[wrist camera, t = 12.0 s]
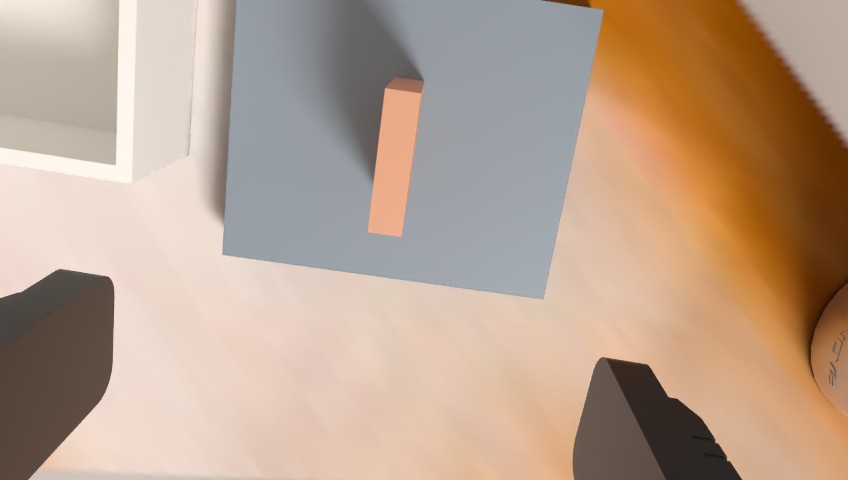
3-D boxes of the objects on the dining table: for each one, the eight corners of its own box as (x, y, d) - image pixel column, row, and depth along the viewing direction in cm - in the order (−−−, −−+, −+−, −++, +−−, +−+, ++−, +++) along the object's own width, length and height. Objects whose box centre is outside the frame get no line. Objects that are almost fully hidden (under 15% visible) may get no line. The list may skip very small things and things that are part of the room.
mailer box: (202, -111, 28) (140, -147, 22) (188, 155, 31) (131, 184, 25) (-121, -165, 27) (-269, -217, 21) (-100, 109, 30) (-225, 127, 25)
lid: (592, 11, 29) (644, 5, 21) (536, 282, 32) (565, 356, 25) (252, -40, 28) (188, -63, 21) (235, 240, 32) (176, 302, 25)
